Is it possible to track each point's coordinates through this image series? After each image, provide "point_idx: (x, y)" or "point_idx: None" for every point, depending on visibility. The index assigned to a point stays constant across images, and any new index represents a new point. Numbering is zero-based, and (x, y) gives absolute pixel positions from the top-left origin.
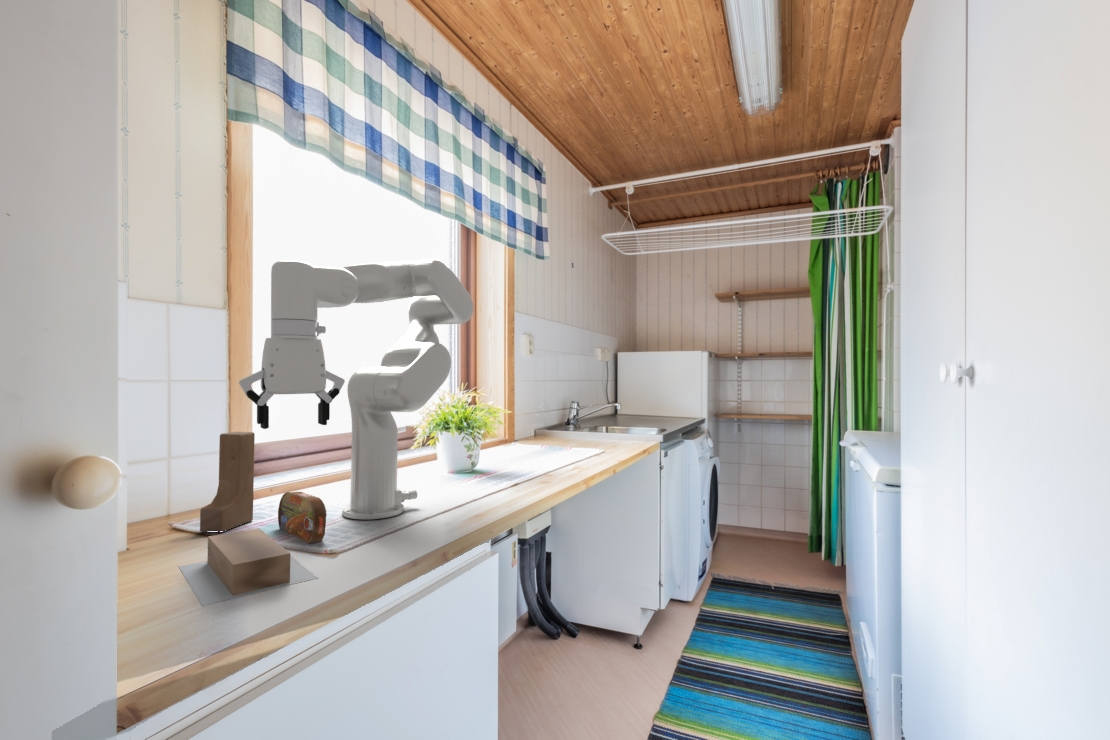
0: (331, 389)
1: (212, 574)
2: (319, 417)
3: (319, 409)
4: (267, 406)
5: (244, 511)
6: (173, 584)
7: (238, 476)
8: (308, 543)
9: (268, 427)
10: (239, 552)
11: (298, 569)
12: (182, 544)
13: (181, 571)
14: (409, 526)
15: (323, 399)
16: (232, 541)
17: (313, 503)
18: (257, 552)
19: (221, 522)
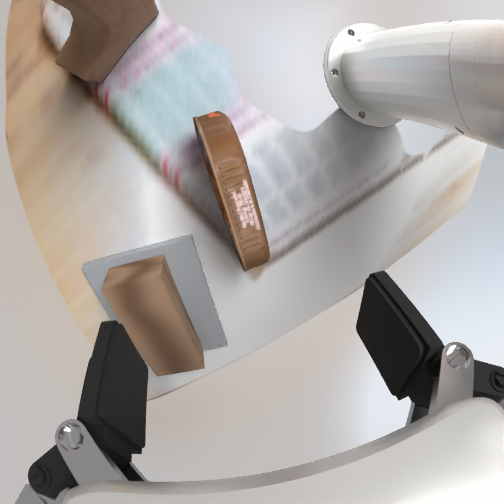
0: (493, 399)
1: None
2: (376, 314)
3: (396, 344)
4: (140, 450)
5: (136, 27)
6: (92, 293)
7: (97, 20)
8: (231, 239)
9: (147, 368)
10: (154, 353)
11: (211, 323)
12: (56, 131)
13: (91, 285)
14: (383, 187)
15: (410, 410)
16: (137, 320)
17: (250, 265)
18: (172, 358)
19: (96, 81)
